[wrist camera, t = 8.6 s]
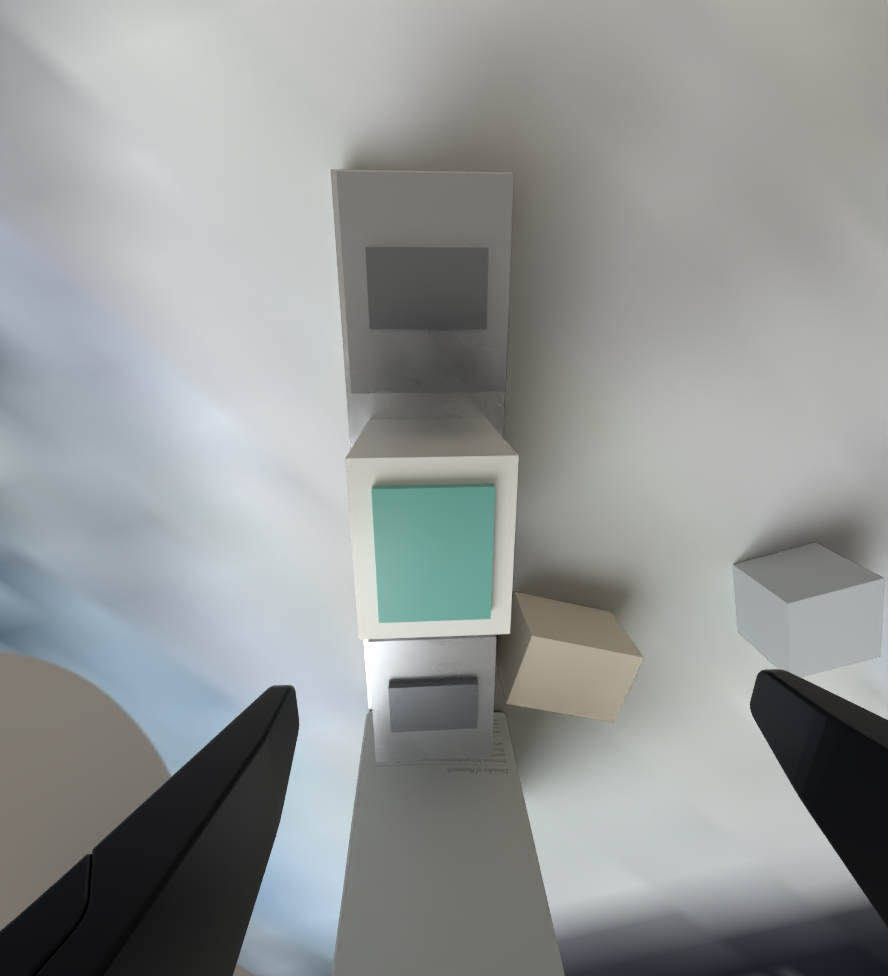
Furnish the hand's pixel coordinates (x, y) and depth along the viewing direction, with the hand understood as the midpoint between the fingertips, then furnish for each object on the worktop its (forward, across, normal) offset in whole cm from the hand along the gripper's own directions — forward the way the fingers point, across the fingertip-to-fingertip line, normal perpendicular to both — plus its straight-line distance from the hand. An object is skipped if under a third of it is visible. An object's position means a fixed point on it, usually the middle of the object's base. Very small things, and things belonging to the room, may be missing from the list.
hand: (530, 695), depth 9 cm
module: (+10, +2, -1) cm, 11 cm away
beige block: (+12, -4, +7) cm, 15 cm away
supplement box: (+12, +2, +15) cm, 19 cm away
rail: (+12, +2, -1) cm, 12 cm away
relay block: (+12, -15, +5) cm, 20 cm away
